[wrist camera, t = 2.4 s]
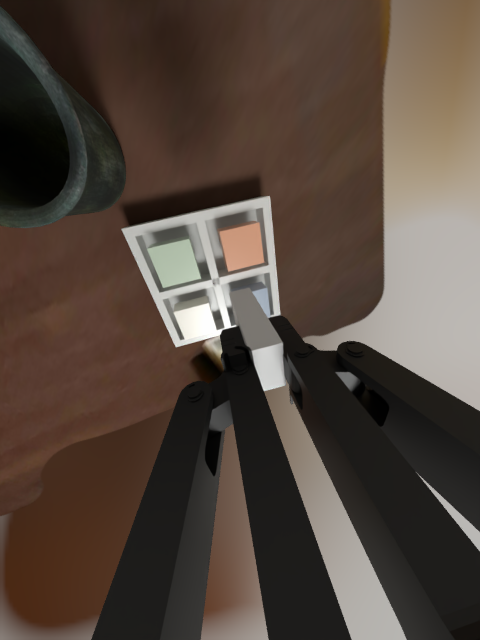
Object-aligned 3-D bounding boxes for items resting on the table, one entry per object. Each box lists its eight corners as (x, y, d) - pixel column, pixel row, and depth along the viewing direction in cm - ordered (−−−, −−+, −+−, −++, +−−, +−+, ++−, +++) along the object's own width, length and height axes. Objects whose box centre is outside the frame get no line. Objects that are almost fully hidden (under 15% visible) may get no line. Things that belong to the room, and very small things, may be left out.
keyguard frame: (177, 334, 34) (175, 347, 31) (129, 225, 25) (121, 229, 22) (273, 308, 35) (280, 318, 32) (261, 196, 26) (269, 195, 23)
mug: (101, 237, 25) (41, 262, 15) (-69, 119, 18) (-406, 14, 8) (152, 158, 22) (120, 123, 12) (-26, -16, 15) (-449, -440, 5)
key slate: (235, 314, 32) (240, 325, 29) (229, 287, 29) (233, 296, 26) (264, 307, 32) (270, 316, 29) (260, 280, 29) (267, 287, 27)
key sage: (165, 279, 27) (163, 288, 24) (151, 243, 24) (146, 248, 22) (200, 271, 27) (201, 278, 24) (189, 234, 25) (189, 238, 22)
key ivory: (185, 328, 31) (185, 340, 28) (174, 302, 28) (173, 312, 26) (214, 320, 31) (216, 331, 29) (206, 293, 29) (208, 303, 26)
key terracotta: (224, 264, 27) (228, 271, 25) (216, 228, 25) (219, 231, 22) (257, 256, 28) (264, 262, 25) (252, 220, 25) (259, 222, 23)
